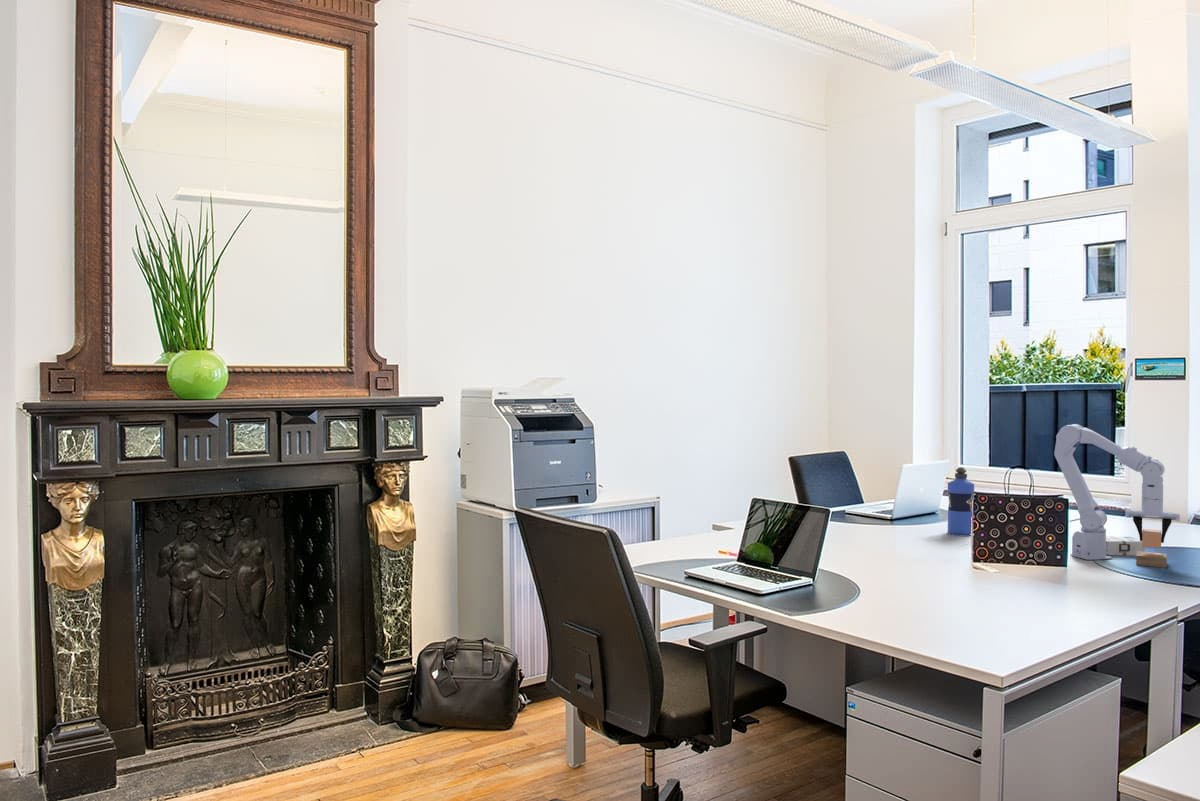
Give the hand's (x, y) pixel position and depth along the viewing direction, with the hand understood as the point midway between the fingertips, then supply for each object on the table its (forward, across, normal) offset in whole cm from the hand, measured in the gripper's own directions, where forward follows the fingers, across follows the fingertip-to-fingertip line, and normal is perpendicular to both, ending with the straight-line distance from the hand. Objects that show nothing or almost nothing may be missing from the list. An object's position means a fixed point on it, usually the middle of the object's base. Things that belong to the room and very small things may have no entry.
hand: (1151, 541), depth 278 cm
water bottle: (+7, -62, +26) cm, 67 cm away
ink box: (+5, -4, +18) cm, 19 cm away
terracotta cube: (+2, 0, 0) cm, 2 cm away
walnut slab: (+7, 0, 0) cm, 7 cm away
